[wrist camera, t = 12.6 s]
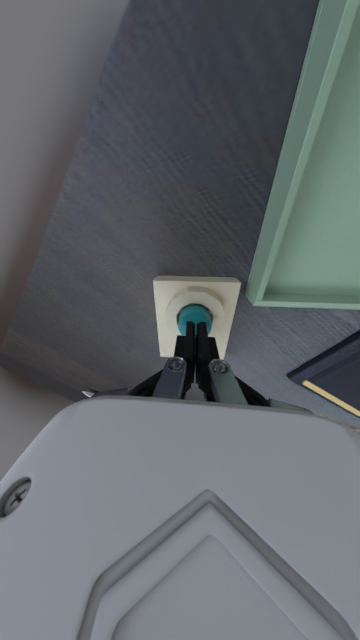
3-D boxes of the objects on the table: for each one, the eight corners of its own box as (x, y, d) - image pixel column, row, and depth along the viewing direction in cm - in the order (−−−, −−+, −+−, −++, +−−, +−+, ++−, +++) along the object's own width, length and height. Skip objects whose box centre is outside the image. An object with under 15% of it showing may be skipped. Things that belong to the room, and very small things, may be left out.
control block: (157, 275, 16) (147, 285, 13) (235, 277, 16) (247, 288, 12) (163, 346, 22) (157, 366, 18) (220, 349, 21) (226, 371, 18)
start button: (179, 304, 14) (177, 311, 12) (211, 305, 14) (213, 313, 12) (179, 330, 15) (178, 339, 14) (208, 331, 15) (209, 341, 14)
